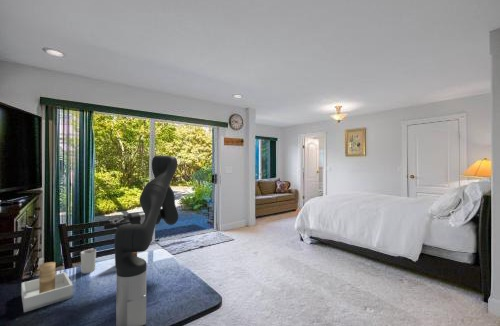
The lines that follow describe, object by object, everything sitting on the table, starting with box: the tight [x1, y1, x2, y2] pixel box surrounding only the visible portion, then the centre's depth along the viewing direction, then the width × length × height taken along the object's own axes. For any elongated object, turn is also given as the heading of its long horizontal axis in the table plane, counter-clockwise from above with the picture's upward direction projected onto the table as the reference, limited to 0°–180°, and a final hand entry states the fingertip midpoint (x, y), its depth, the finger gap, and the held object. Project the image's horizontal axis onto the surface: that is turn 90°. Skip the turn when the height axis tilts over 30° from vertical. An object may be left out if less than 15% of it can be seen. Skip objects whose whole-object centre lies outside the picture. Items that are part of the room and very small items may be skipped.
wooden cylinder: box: [39, 261, 56, 294], centre depth 100 cm, size 5×5×12 cm
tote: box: [20, 271, 74, 313], centre depth 100 cm, size 18×15×5 cm
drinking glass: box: [80, 248, 97, 274], centre depth 124 cm, size 7×7×10 cm
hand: (101, 225), depth 108 cm, fingers open, 8 cm apart
